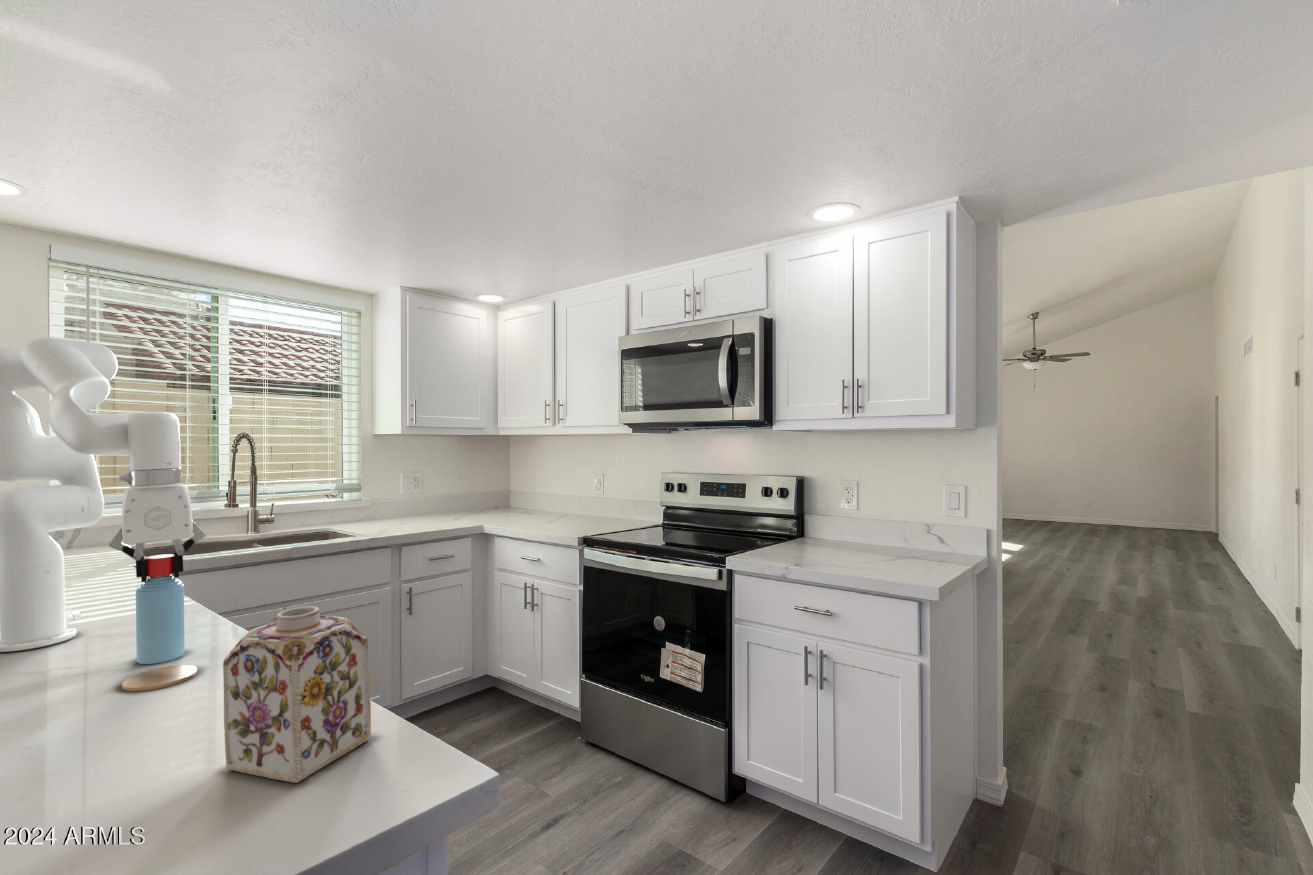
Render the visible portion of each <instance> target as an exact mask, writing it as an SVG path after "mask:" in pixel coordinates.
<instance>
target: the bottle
mask: <svg viewBox="0 0 1313 875" xmlns="http://www.w3.org/2000/svg"><path fill="white" fill-rule="evenodd" d="M135 637H136V638H135V639H136V642H135V643H136V645H135V646H136V647H135V648H136V663H138V664H140V665H153V664H155V665H156V664H161V663H166V662H170V661H174V660H176V659H179V658H181V657H183V656H184V655H185V654H186V653H185V652H186V651H185V650H186V649H185V584H184V583H183V581H182V580H180V579H179V578H177V577H174V576H173V574H170V575H166V576H159V577H147V581H145V582H141V583H140V585H138V586H137V587H136V590H135Z"/></svg>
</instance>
